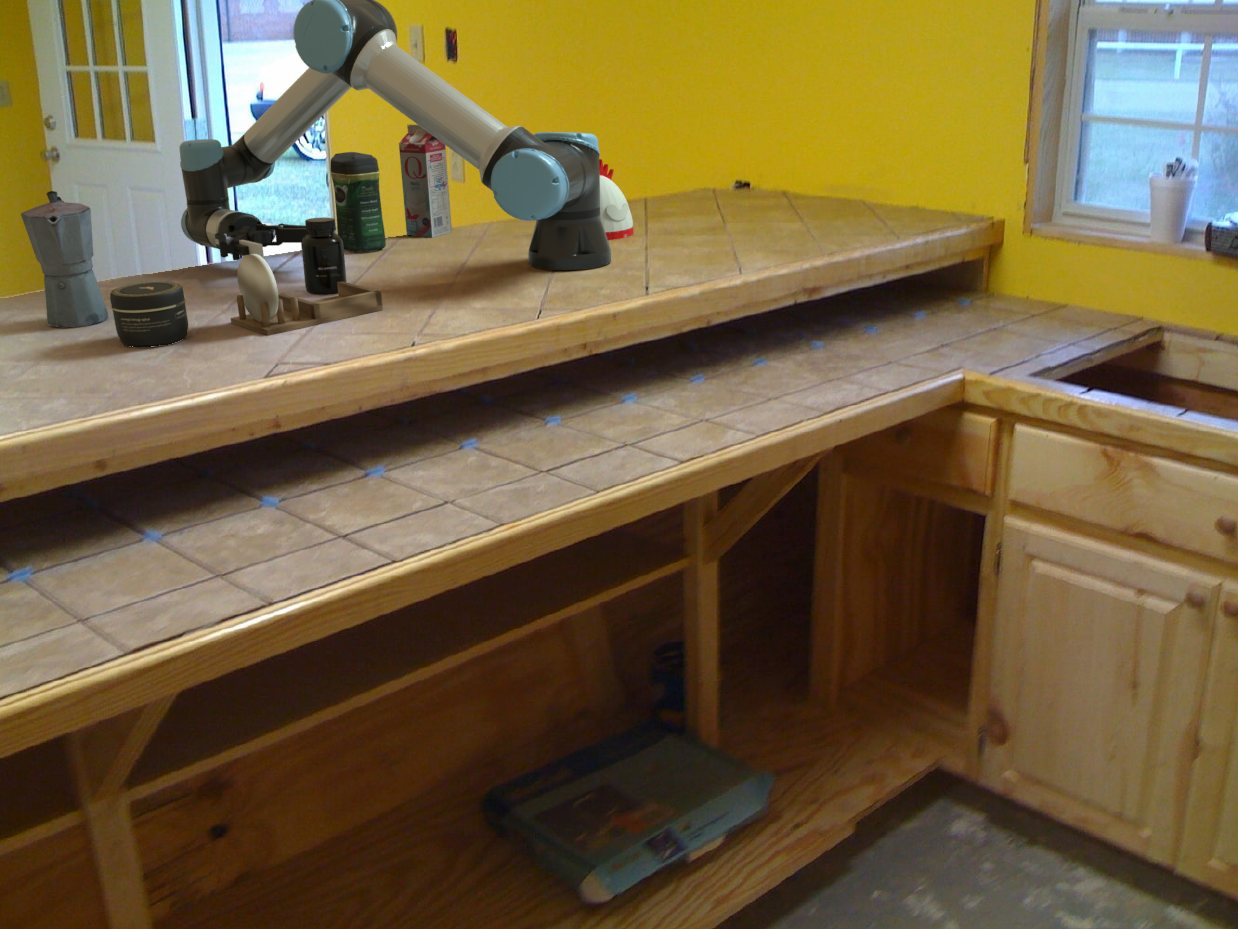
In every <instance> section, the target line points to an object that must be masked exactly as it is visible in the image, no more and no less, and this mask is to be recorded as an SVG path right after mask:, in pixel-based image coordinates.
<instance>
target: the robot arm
mask: <svg viewBox="0 0 1238 929" xmlns="http://www.w3.org/2000/svg"><path fill="white" fill-rule="evenodd" d="M394 19H395V18H393V16H392V14H391V12H390V11H389V10H388V9H387V7H385V6H384V5H383V4H382V3H380V2H378V1H376V0H309V1H308V2H306V3H305V4H304V5H303V6H302V7H300V10H299V11H298V13H297V15H296V18H295V20H294V24H293V39H294V44H295V49H296V53H297V54H298V56H299V58H300V60H301V61H302V62H303V63H304V65H306V67H308V68H307V69H306V70H305V71H304V72H303V73H302V74H301V75H300V76H299V77H298V78H297V79H296V80H295V81H294V82H293V83H292V84H291V86H289V87H288V88H287V89H286V91H284V93H282V95H281V96H280V97H278V98H277V99H276V101H275V102H274V103H273V104H272V105H271V106H270V107H269V108H268V109H266V110H265V112H264V113H263V114H262V115H261V116H260V117H259V118H258V119H257V120H256V121H255V122H254V123H253V124H252V125H251V126H250V127H249V128H248V129H247V130H246V131H245V133H244V134H242V136H240V137H239V139H237V140H236V141H235V143H233V144H232V145H226V146H222V144H221V141H219V140H218V139H212V138H211V139H209V138H205V139H204V138H203V139H194V140H193V139H192V140H185V141H183V142H182V143H180V144H179V156H180V158H179V159H180V162H179V163H180V164H179V166H180V169H181V174H182V179H183V180H182V181H183V186H184V192H185V198H186V209H185V210H184V211H183V213H182V216H181V220H180V228H181V230H182V232H183V234H184V235H185V237H186V238H187V239H188V240H190V241H192V242H194V243H196V244H198V245H200V246H202V247H207V248H213V249H217V250H219V253H220V257H221V258H227V257H229V255H232V260H233V261H240V260H241V257H244V256H245V255H250V254H257V255H260V256H261V257H262V258H263V259H264V260H265V257H264V248H266V247H268V246H269V247H270V246H277V247H278V246H281V245H283V243H284V244H285V243H288V244H289V243H292V244H293V243H294V244H295V243H296V244H297V243H300V244H301V242H302V239H303V238H304V237H305V236H306V235H308V233H307V232H306V229H305V228H306V225H304V224H288V223H287V224H286V223H278V225H277V224H276V225H274V224H273V225H272V224H270V225H269V224H266V223H263V222H262V221H261V220H260V219H259V218H258V217H257V216H255V215H254V214H250V213H248V212H242V211H238V210H234V209H233V210H232V209H231V207H230V198H229V196H230V195H229V190H228V189H230V188H234V187H239V186H243V185H248V184H254V183H259V182H261V181H262V180H265V179H267V178H268V177H270V176H271V175H272V174H273V173H274V171H275V170H274V169H275V166H276V162H277V161H278V160H279V159H280V157H282V156H283V155H284V154H285V153H286V152H287V151H288V150H289V149H290V148H291V147H293V145H294V144H295V143H296V142H297V141H299V139H300V138H301V137H302V136H303V135H304V134H306V132H308V131H309V129H311V128H312V127H313V126H314V125H315V124H316V123H317V122H318V121H319V120H320V119H321V118H322V117H323V116H324V115H325V114H326V113H327V112H328V111H330V109H331V108H332V107H333V106H334V105H336V103H337V102H338V101H339V100H340V99H341V98H342V97H344V95H345V94H346V93H347V92H349V91H350V90H351V88H352V89H354V90H355V91H364V90H367V89H369V90H370V91H372V92H373V93H374V94H375V95H377V97H380V98H381V99H382V100H384V101H385V102H386V103H388V104H389V105H391V106H392V107H393V108H395V110H397V111H399V112H400V113H401V114H402V115H404V116H405V117H407V118H408V119H409V120H411V121H412V122H414V124H415V125H419V126H420V127H422V128H423V129H424V130H426V131H427V132H428V133H430V134H431V135H433V136H434V137H435V138H437V139H438V140H439V141H441V142H442V143H443V144H445V147H448V148H449V149H450V150H451V151H453V152H454V153H456V154H457V155H458V156H460V157H461V158H462V159H464V160H465V161H466V162H467V163H469V164H470V165H472V166H473V167H475V168H476V169H477V170H478V171H479V177H480V182H481V183H482V185H484V186H485V187H486V188H488V189H489V190H490V191H492V194H493V198H494V201H495V202H496V204H497V205H498V206H499V207H500V208H501V210H503V212H505V213H506V214H508V215H509V216H510V217H512V218H515V219H518V220H521V221H535V225H534V229H533V233H532V237H531V239H530V244H529V248H528V252H527V254H528V264H529V266H532V267H534V268H537V269H543V270H550V271H551V270H552V271H553V270H554V271H576V270H588V269H596V268H599V267H604V266H606V265H608V264H610V263H612V249H611V245H610V242H609V240H608V239H607V236H606V233H605V230H604V227H603V225H602V222H601V215H600V171H599V159H600V156H601V152H600V149H599V139H598V137H597V136H596V135H595V134H593V133H590V132H589V133H587V132H566V131H565V132H564V131H563V132H561V131H559V132H558V131H557V132H556V131H553V132H552V131H551V132H550V131H549V132H548V131H543V132H540V131H539V132H536V133H534V134H533V133H531V132H530V130H528V129H526V128H525V127H524V126H522V125H515V126H507V125H505V123H503V122H501V120H499V119H497V118H496V117H495V116H493V115H492V114H490V113H489V112H488V111H486V110H485V109H483V108H482V107H481V106H480V105H478V104H477V103H475V102H474V101H473V100H472V99H471V98H469V97H468V96H466V95H465V94H463V93H462V92H461V91H459V90H458V89H457V88H455V87H454V86H453V85H451V84H450V83H448V82H447V81H445V80H444V79H443V78H442V77H440V76H439V75H437V74H436V73H435V72H433V71H432V70H430V69H429V68H428V67H427V66H425V65H424V64H422V63H421V62H420V61H418V60H417V59H416V58H414V57H413V56H411V55H410V54H409V53H408V52H406V51H405V50H403V49H402V48H400V47H399V46H398V45H397V43H398V29H397V24H396V22H395V20H394ZM274 240H275V241H274Z"/></svg>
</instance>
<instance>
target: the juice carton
mask: <svg viewBox="0 0 1238 929" xmlns="http://www.w3.org/2000/svg"><path fill="white" fill-rule="evenodd" d="M406 126H407V133H406V134H405V135H404V136H403V137H402V139H401V140H400V141H399V142H398V148H399V149H398V150H399V161H400V171H401V173H400V174H401V182H402V194H403V208H404V218H405V219H404V220H405V229H406V236H407V237H408V235H412V236H411V237H420V238H421V237H422V238H431V239H433V238H436V237H440V236H443V235H447V234H450V233H452V230H453V229H452V218H451V217H452V215H451V204H450V191H449V190H450V189H449V178H448V177H449V174H448V164H447V163H448V162H447V150H446V147H447V146H446V145H445V144H443V143H442V142H441V141H439V140H438V139H437V138H435V137H434V136H433V135H431V134H430V133H428V132H427V131H426V130H424V129H423V128H422V127H420V126H419V125H418V124H407V125H406Z"/></svg>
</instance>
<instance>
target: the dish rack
mask: <svg viewBox="0 0 1238 929" xmlns="http://www.w3.org/2000/svg"><path fill="white" fill-rule="evenodd" d="M237 284H238V286H237V287H238V290H239V291H238V292H239V295H236V303H237V304H236V305H237V310H238V316H233V317H230V324H233V325H236V326H239V327H242V328H245V329H248V330H250V331H254V332H255V333H261V334H263V335H266V336H271V335H277V334H280V333H285V332H289V331H294V330H299V329H303V328H307V327H312V326H313V327H314V326H317V325H321V324H325V323H329V322H335V321H339V320H343V319H347V318H353V317H358V316H363V315H366V314H371V313H376V312H379V311H384V310H383V309H384V308H383V299H382V291H381V290H379V289H373V288H370V287H365V286H362V285H359V284H355V283H349V282H348V281H347V282H343V281H341V282H337V287H338V295H336V296H330V297H325V298H321V299H315V300H312V301H310V300H307V299H303V298H299V297H298V296H296V295H295V296H294V295H293V296H292V295H289V294H285V293H279V291H278V285H277V281H276V278H275V274H274V273H273V270H272V269H271V267H270V265H269V263H268V262H267V261H266V260H265V258H264V259H263V258H262V257H261V256H260V255H257V254H250V255H245V256H244V257H243V256H241V258H240V260H239V263H238V266H237ZM246 311H247V312H248V314H247V313H246Z"/></svg>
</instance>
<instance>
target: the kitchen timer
mask: <svg viewBox="0 0 1238 929" xmlns="http://www.w3.org/2000/svg"><path fill="white" fill-rule="evenodd" d="M608 170H609V171H608ZM599 171H600V215H601V222H602V225H603V227H604V230H605V233H606V236H607V239H608V241H614V239H615V240H622V239H625V237H626V238H629V237H628V236H630V237H632V236H633V235H634V220H633V215H632V213H631V210H630V207H629V203H628V201H627V199H626V197H625V195H624V193H623V192H622V190H621V189H620V188H619V186H618V185H617V184H616V183H615V182H614V181H613V180H612V179H613V178H612V177H613V176H614V169H613V168H610V169H609V163H608V164H607V163H604V161H603V159H601V158H599ZM631 235H632V236H631ZM621 238H622V239H621Z"/></svg>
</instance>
